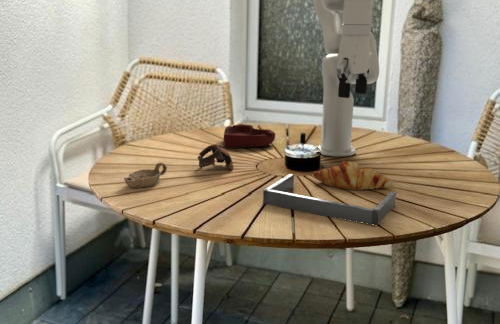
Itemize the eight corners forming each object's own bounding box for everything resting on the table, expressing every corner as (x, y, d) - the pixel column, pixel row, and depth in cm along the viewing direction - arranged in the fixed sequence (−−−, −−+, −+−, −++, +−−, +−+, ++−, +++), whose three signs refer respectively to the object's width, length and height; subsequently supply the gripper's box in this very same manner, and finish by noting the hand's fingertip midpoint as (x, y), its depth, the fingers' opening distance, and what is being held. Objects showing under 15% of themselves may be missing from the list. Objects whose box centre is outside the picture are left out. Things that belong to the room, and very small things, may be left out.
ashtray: (207, 143, 199) (207, 129, 198) (243, 136, 210) (243, 122, 208) (243, 154, 187) (243, 139, 185) (279, 146, 197) (279, 131, 196)
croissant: (390, 198, 160) (393, 169, 161) (393, 192, 150) (395, 161, 151) (312, 189, 164) (316, 161, 165) (310, 183, 154) (313, 154, 156)
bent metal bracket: (289, 186, 157) (289, 173, 156) (394, 205, 144) (396, 192, 143) (263, 203, 144) (263, 189, 143) (376, 226, 131) (377, 211, 130)
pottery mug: (234, 175, 167) (220, 153, 163) (205, 187, 169) (191, 165, 166) (238, 154, 177) (225, 132, 173) (211, 165, 180) (197, 144, 176)
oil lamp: (133, 193, 150) (132, 174, 149) (117, 186, 155) (116, 168, 154) (174, 182, 159) (174, 164, 158) (158, 176, 164) (158, 159, 163)
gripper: (358, 29, 165) (354, 90, 170) (327, 31, 152) (324, 97, 157) (383, 30, 161) (378, 93, 166) (353, 33, 148) (349, 100, 152)
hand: (352, 95), depth 161 cm, fingers open, 9 cm apart
